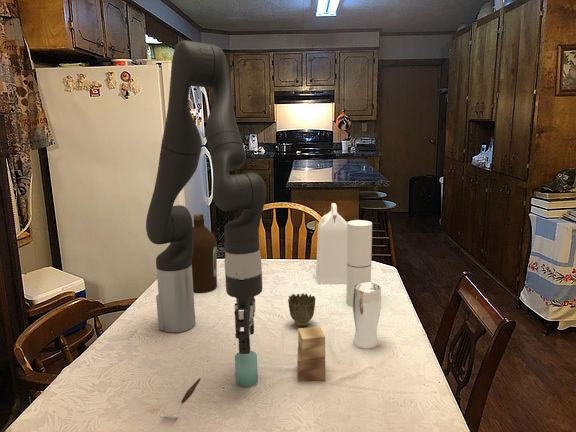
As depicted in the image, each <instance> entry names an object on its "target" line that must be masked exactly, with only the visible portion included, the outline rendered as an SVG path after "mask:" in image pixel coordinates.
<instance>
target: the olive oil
mask: <svg viewBox="0 0 576 432" xmlns="http://www.w3.org/2000/svg"><path fill="white" fill-rule="evenodd" d="M204 215H205V214H203V213H195V214H193V219H192V221H193V256H192V277H193V292H194V294H195V293H196V294H198V293H199V294H204V293H209V292H212V291H214V290H216V289H217V288H218V274H217V273H218V272H217V271H218V268H217V267H218V263H217V261H218V257H217V256H218V255H217V253H218V251H217V250H218V245H217V244H218V242H217V239H216V236H215V235H214V233H213V232H212V231H210V229H209V228H207V227H206V225H205V218H204Z"/></svg>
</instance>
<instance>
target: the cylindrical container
mask: <svg viewBox="0 0 576 432" xmlns="http://www.w3.org/2000/svg"><path fill="white" fill-rule="evenodd" d="M346 222H347V284H346V302H345V303H346V305H347V306H349V307H351V308H353V306H352V301H353V289H354V285H355V284H357V283H362V282H370V283H372V247H373V246H372V245H373V244H372V243H373V222H372V221H369V220H364V219H362V220H361V219H353V220H349V221H346Z"/></svg>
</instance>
